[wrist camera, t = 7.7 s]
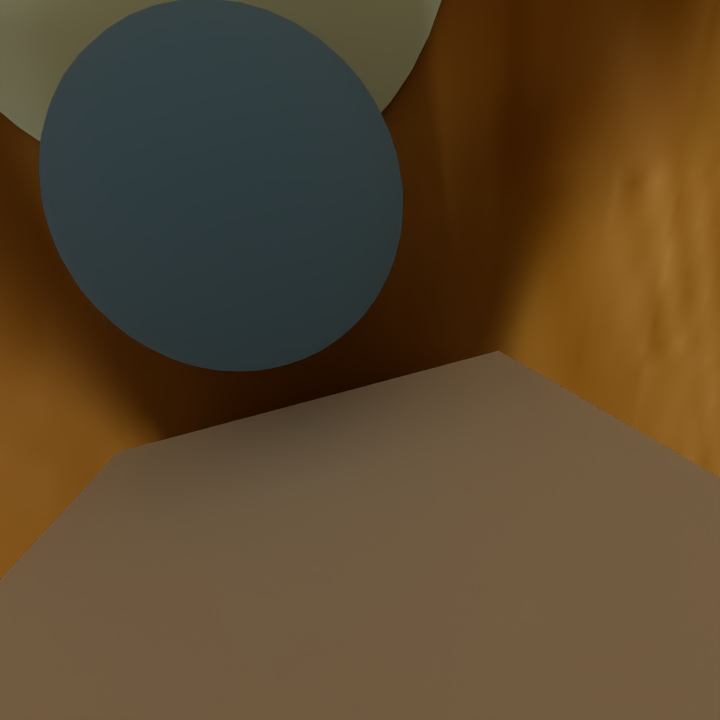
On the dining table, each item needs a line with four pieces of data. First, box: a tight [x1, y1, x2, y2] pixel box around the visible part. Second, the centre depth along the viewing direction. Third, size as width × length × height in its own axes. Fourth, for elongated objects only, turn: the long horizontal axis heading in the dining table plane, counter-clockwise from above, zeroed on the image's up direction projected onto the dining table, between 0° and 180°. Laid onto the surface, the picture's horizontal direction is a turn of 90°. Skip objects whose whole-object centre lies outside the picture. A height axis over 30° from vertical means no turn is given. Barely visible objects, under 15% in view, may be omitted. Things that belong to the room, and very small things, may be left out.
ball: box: [39, 0, 403, 371], centre depth 7 cm, size 5×5×5 cm
